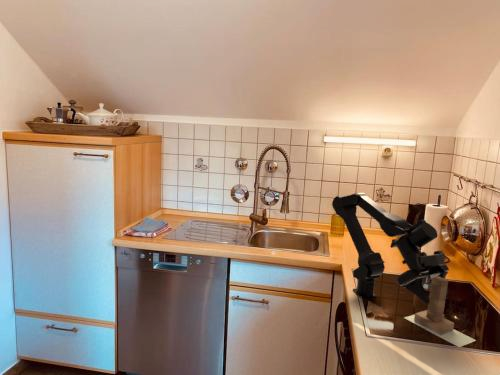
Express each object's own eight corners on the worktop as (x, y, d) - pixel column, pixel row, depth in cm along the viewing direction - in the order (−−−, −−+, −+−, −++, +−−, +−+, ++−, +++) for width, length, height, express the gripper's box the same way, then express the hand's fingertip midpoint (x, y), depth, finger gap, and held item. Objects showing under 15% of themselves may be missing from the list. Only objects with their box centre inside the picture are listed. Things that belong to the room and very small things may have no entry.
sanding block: (413, 320, 119) (420, 275, 117) (425, 317, 122) (432, 272, 120) (440, 335, 112) (448, 286, 109) (453, 330, 115) (460, 283, 112)
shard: (368, 304, 133) (368, 299, 132) (391, 309, 130) (392, 304, 130) (365, 317, 123) (366, 312, 122) (390, 323, 120) (391, 318, 120)
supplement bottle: (428, 293, 145) (432, 264, 143) (415, 286, 150) (419, 259, 148) (439, 291, 147) (443, 263, 145) (426, 285, 152) (430, 258, 151)
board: (403, 321, 121) (403, 317, 121) (420, 316, 125) (420, 312, 125) (458, 351, 106) (459, 347, 106) (475, 344, 110) (476, 340, 110)
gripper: (410, 244, 112) (439, 295, 105) (448, 239, 122) (477, 285, 114) (385, 261, 120) (410, 309, 113) (422, 254, 130) (448, 299, 122)
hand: (438, 300), depth 115 cm, fingers open, 9 cm apart
